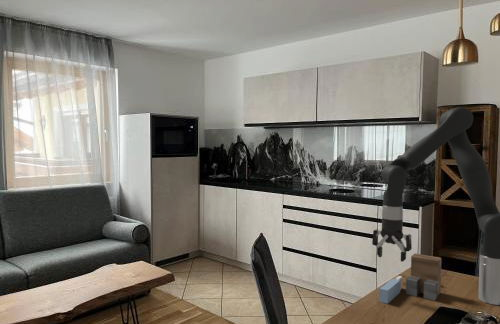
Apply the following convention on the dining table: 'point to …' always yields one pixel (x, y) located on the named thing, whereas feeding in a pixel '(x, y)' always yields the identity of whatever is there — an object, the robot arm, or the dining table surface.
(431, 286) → the brown and grey stand
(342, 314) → the dining table surface
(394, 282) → the blue and white bar
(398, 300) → the dining table surface
